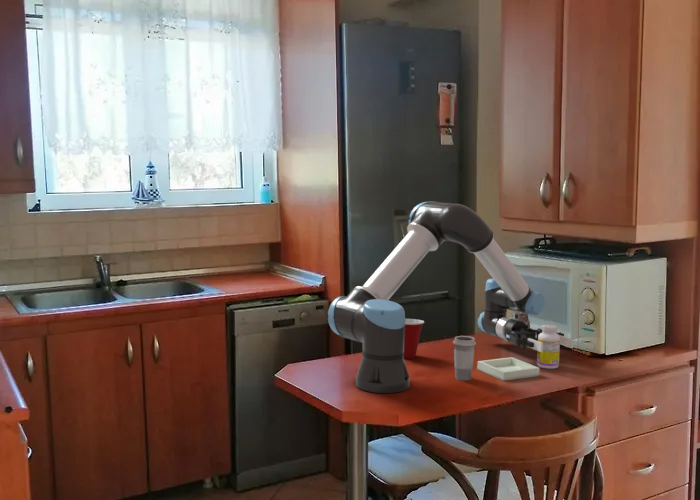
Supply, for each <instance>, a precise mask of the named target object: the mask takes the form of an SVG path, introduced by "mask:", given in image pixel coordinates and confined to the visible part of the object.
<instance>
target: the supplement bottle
mask: <svg viewBox="0 0 700 500" xmlns="http://www.w3.org/2000/svg"><path fill="white" fill-rule="evenodd" d="M541 329H542V333H540V334H539V335H538V341H539V342H542V343H543V352H540V351H537V350H536V352H537V354H536V358H537V359H536V365H537V367H539V368H542V369H548V370H549V369H550V370H552V369H553V370H554V369H557V368H559V366H560V352H561V351H560V347H561V345H560V336H559V335H558V334H557V333H558V332H557V331H558V326H557V325H555V324H548V323H547V324H542V325H541Z"/></svg>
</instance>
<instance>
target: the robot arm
mask: <svg viewBox="0 0 700 500" xmlns="http://www.w3.org/2000/svg"><path fill="white" fill-rule="evenodd" d="M406 229H407V234H406V235H405V236H404V237H403V238H402V239H401V240H400V241H399V243H398V244H397V245H396V246H395V248H394V249H393V250H392V251H391V252H390V254H388V256H386V258H385V259H384V261H383V262H382V263H381V264H380V265H379V266H378V267H377V268H376V269H375V270H374V272H373V273H372V274H371V275H370V277H369V278H368V279H367V280H366V281H365V282H364V284H363V285H362V286H355V287H353V289H352V290H351V291H350V292H349V293H348V294H347V296H345V295H342V296H337V297H336V298H335V299H334V300H333V301H332V302H331V303H330V305H329V308H328V311H327V315H328V316H327V317H328V318H327V321H328V325H329V327H330V330H331V331H332V332H333V333H335V334H336V335H338V336H340V337H342V338H344V339H348V340H350V341H351V340H352V341H355V342H357V343H360V344H362V353H361V354H362V357H361V360H360V363H359V367H358V369H357V372H356V375H355V386H356V388H358V389H360V390H362V391H365V392H368V393H378V394H393V393H401V392H404V391H407V390H408V389H409V388H410V382H411V381H410V380H411V379H410V375H409V372H408V369H407V365H406V361H405V358H404V343H405V324H406V323H405V322H406V320H405V319H406V314H405V313H406V312H405V309H404V307H403V306H402V305H401V304H399V303H397V302H395V301H391V300H390V299H391V297H392V296H393V295H394V294H396V291H398V289H399V288H400V287H401V285H402V284H404V282H405V281H406V279H407V278H409V276H410V275H411V273H413V271H414V270H415V269H416V268H417V266H418V265H419V264H420V263H421V262H422V260H423V259H424V258H425V257H426V255H427V254H428V253H429V252H435V251H437V250H438V249H439V247H440V246H441V245H443V243H444V242H453V243H456V244H458V245H460V246H462V247H464V248H465V249H466V251H467V252H469V254H470V253H471V254H474V256H475V257H476V259H477V260H478V262H480V263H481V265H482V266H483V268H485V270H486V271H487V273H488V274H489V275H490V276H491V277H492V278H488V279H487V280H486V282H485V289H484V311H483V312H481V313H480V314H479V316H478V318H477V326H478V328H479V329H480V330H481V331H482V332H484V333H486V334H488V335H489V336H490V335H491V336H494V337H497V338H500V339H503V340H504V341H505V342H510V343H512V344H513V345H514V346H515V347H521V349H523V350H526V349H527V348H529V349H532V350H534V351H536V352H537V351H540V352H543V343H542V342H539V341H538V335H539V334H540V333H542V328H541V327H540V328H537V329H533V328H531V327H530V328H528V326H527V325H526V324H525V323H524V322H522V321H519V320H516V319H515V318H513V317H509V316H507V312H508V310H509V311H513V312H522V313H526V314H528V315H534V316H536V315H537V316H538V315H539V314H541V313H542V311H543V310H544V308H545V304H546V300H545V296H544V295H543V294H542V293H541V292H539V291H533V290H532V289H531V287H530V286H529V284H528V283H527V282H526V281H525V279H524V278H523V277H522V275H521V274H520V273H519V271H518V270H517V268H516V267H515V265H513V263H512V262H511V260H510V259H509V258H508V256H507V255H506V253H505V252H504V251H503V250H502V248H501V247H500V245H499V244H498V243H497V241H496V240H495V238H494V237H495V234H494V232H493V230H492V229H491V227H490V226H489V225H488V223H486V221H485V219H483V218H482V217H481V216H480V215H479V214H478V213H476V212H475V211H474V210H473V209H472V208H470V207H468V206H467V205H464V204H461V203H452V202H451V203H450V202H449V203H448V202H441V201H440V202H438V201H436V200H435V201H432V200H431V201H424V202H420V203H419V204H417V205H416V206H414V207H413V209H412V210H411V212H410V214H409V219H408V225H407V226H406ZM557 334H558V335H559V336H560V346H564V347H566V348H569V349H573V343H574V341H575V340H574V339H573V338H570V337H567V336H565V333H563V332H561V331H560V332H557Z"/></svg>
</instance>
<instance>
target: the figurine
mask: <svg viewBox="0 0 700 500" xmlns="http://www.w3.org/2000/svg"><path fill="white" fill-rule="evenodd" d="M514 319H516V320H519V321H522V322H524V323H525V324H526V325H527V326H528V328H531V321H530V319H529V314H526V313H522V312H517V311H515V313H514Z"/></svg>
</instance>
